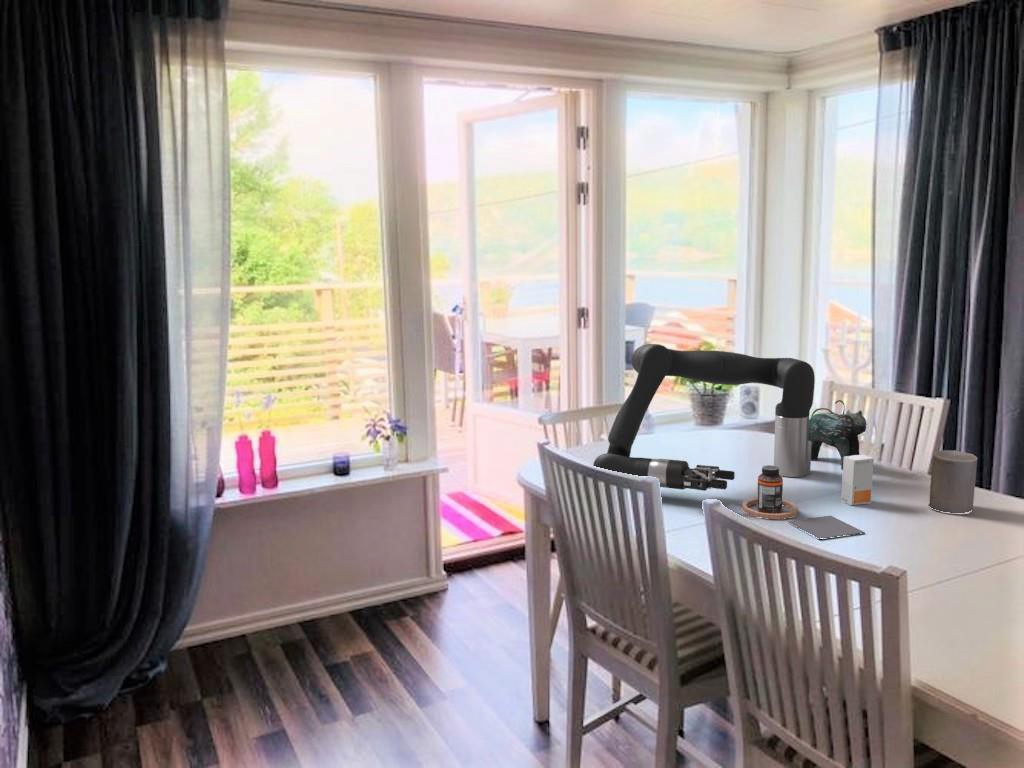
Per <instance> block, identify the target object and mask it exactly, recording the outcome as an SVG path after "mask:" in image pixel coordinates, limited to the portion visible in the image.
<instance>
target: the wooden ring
mask: <svg viewBox="0 0 1024 768" xmlns="http://www.w3.org/2000/svg"><path fill="white" fill-rule="evenodd" d="M757 499H758V498H750V499H747V500H744V501H743V503H742V504H741V510H742V509H743V510H742V511H744V512H746V513H747V514H746V513H745V514H746V515H748V514H749V515H748V516H750V515H751V516H750V517H753V516H754V517H753V518H756V517H762V518H768V519H767V520H769V519H782V520H785V519H784V518H789V519H791V518H790V517H792V518H794V517H793V516H795V515H796V514H798V513H797V512H798V510H799V509H798V506H797V505H796V504H795V503H793V502H790V501H788V500H784V499H782V505H784V506H783V507H785V506H787V507H789V508H791V509H792V510H791V509H790V511H787V512H780V513H777V514H770V513H762V512H760V511H759V510H755V509H754V510H753V509H751V508H750V506H749V505H751V506H752V504H754V505H757ZM787 507H786V508H787ZM789 508H788V509H789ZM744 512H743V513H744ZM796 516H797V515H796ZM796 516H795V517H796Z"/></svg>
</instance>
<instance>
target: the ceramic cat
mask: <svg viewBox="0 0 1024 768" xmlns="http://www.w3.org/2000/svg"><path fill="white" fill-rule="evenodd" d="M838 402H839V403H842V405H843V412H842V414H839V413H836V412H834V411H832V410H831V409H829V408H825V407H823V408H822V407H821V408H816V409H815V410H814V411H813V412H812V414H811V416H810V417H809V440H808V441H811V462H812V461H817V460H818V459H819V454H820V450H821V446H822V444H825V445H828V446H830V447H834V448H835V449H836V450H837V452H838V453H839V457H840V460H841V467H840V468H841V471H843V459H844V457H846V456H852V455H861V454H860V440H859V435H862V434H864V433H865V432H866V431H867V419H866V418H865V417H864V416H863V412H862V410H861V409H860V410H858V411H857V412H851V411H850V410H849V409H847V411H846V409H845V407H846V406H845V403H844V401H843V400H842V399H838V400H836V401H835V402H834V404H835V405H836V404H837V403H838ZM822 410H824V411H825V410H826V411H829V412H821V413H816V412H818V411H822ZM845 411H846V413H845Z"/></svg>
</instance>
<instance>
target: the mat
mask: <svg viewBox="0 0 1024 768" xmlns="http://www.w3.org/2000/svg"><path fill="white" fill-rule="evenodd" d="M788 522H789V523H791V524H793V525H795V526H797V527H798V528H800V529H802V530H804V531H806V532H808V533H810V534H812V535H814V536H815V537H817V538H819V539H820V538H830V537H837V536H843V535H853V534H860V533H865V531H863V530H862V529H859V528H857V527H856V526H853V525H851V524H850V523H846V522H845V521H843V520H840V519H839V518H837V517H835V516H832V515H823V516H817V517H812V518H804V519H795V520H789V521H787V523H788ZM789 523H788V524H789ZM798 528H797V529H798ZM800 529H799V530H800ZM860 535H861V534H860ZM853 536H854V535H853Z"/></svg>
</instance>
